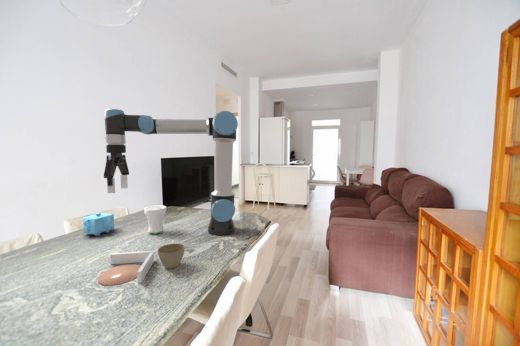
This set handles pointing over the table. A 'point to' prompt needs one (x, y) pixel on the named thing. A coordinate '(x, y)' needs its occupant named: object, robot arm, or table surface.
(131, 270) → the coaster
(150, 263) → the acrylic walls
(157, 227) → the cup
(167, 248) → the flower pot
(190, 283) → the table surface
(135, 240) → the table surface
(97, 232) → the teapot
